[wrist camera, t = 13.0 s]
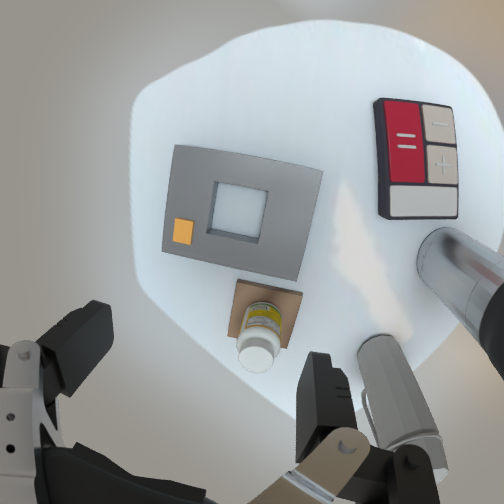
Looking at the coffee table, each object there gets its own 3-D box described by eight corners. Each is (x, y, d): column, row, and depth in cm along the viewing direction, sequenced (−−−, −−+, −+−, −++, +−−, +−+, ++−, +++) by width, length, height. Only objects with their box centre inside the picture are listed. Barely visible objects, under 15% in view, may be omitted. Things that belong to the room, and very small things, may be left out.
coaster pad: (302, 292, 40) (302, 296, 39) (286, 344, 43) (286, 348, 42) (238, 278, 40) (236, 282, 39) (228, 331, 43) (227, 336, 42)
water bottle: (373, 324, 40) (426, 463, 16) (407, 342, 40) (465, 465, 17) (338, 366, 43) (358, 504, 19) (373, 380, 43) (404, 505, 20)
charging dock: (320, 170, 34) (323, 171, 32) (296, 273, 39) (296, 283, 36) (181, 145, 35) (172, 144, 32) (168, 246, 40) (159, 252, 37)
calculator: (455, 105, 26) (461, 220, 30) (440, 110, 30) (446, 215, 34) (380, 95, 28) (388, 221, 31) (370, 103, 32) (377, 216, 36)
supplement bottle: (262, 293, 39) (254, 332, 30) (290, 317, 40) (290, 360, 31) (236, 317, 41) (222, 358, 32) (263, 339, 41) (257, 383, 32)
